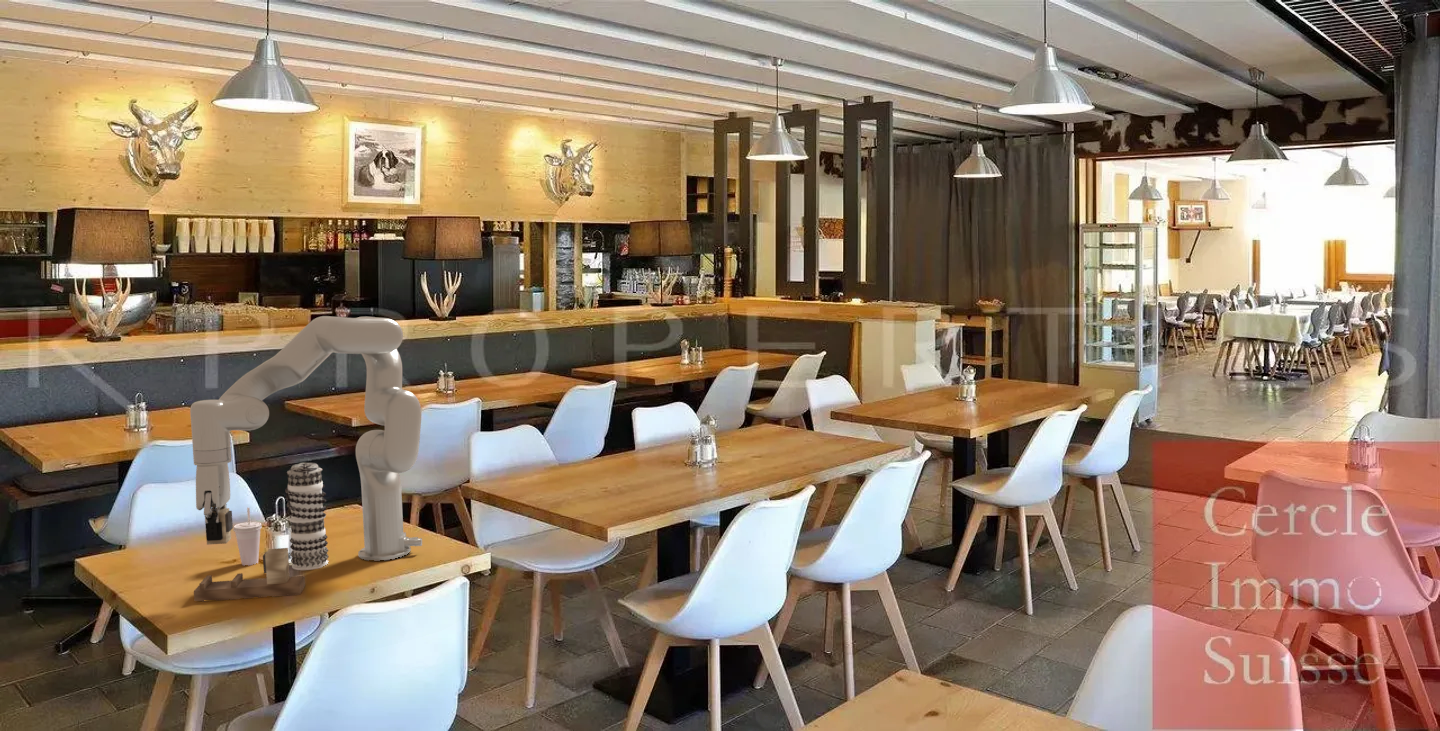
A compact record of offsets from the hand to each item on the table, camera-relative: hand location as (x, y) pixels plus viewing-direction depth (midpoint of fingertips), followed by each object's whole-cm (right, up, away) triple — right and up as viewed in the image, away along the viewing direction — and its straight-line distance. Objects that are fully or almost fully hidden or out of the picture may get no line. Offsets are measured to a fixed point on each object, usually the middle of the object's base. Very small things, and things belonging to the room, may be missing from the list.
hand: (217, 536), depth 236 cm
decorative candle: (+11, -11, +24) cm, 29 cm away
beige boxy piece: (0, -1, 0) cm, 1 cm away
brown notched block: (+6, -13, +3) cm, 15 cm away
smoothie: (-4, -11, +26) cm, 29 cm away
